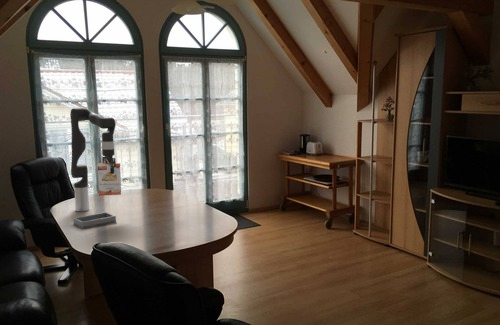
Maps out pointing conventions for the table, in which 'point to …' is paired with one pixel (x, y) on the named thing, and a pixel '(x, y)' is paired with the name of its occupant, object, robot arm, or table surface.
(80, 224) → the bin
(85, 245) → the table surface
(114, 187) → the cracker box
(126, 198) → the table surface
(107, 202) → the table surface
